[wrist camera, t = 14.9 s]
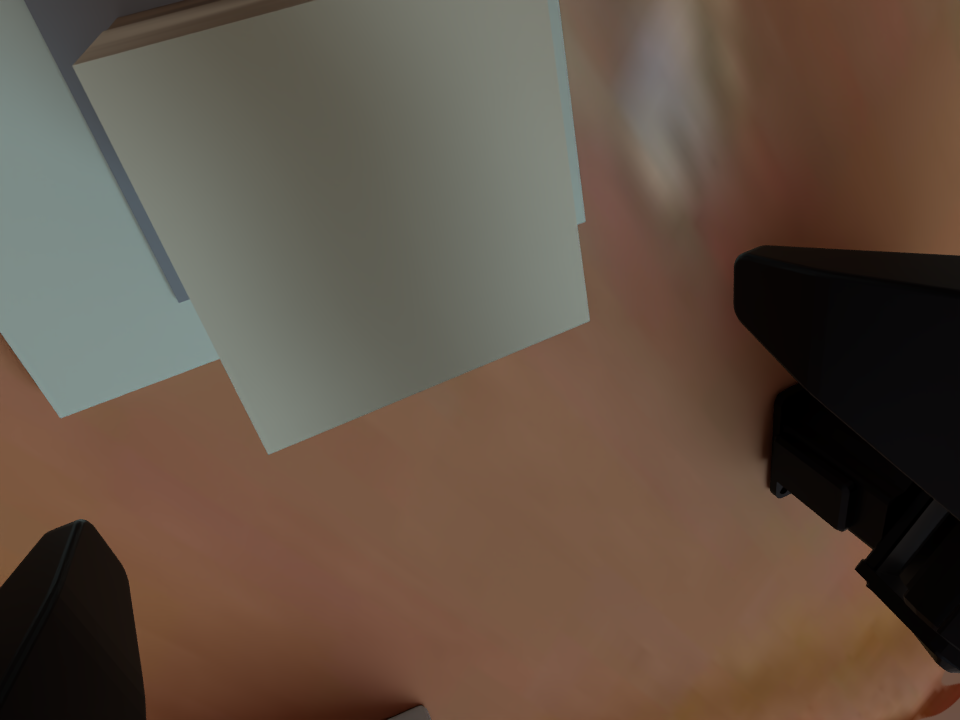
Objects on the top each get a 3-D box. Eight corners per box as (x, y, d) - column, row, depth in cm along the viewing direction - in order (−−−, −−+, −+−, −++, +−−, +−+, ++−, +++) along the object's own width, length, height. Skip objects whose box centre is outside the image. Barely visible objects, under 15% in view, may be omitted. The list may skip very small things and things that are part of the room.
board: (505, -269, 16) (528, -284, 15) (570, 212, 22) (588, 223, 22) (-290, -122, 12) (-328, -130, 11) (64, 399, 19) (59, 422, 18)
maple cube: (405, -48, 12) (539, -61, 8) (467, 224, 14) (590, 320, 10) (102, 31, 10) (72, 66, 6) (233, 309, 13) (268, 455, 9)
